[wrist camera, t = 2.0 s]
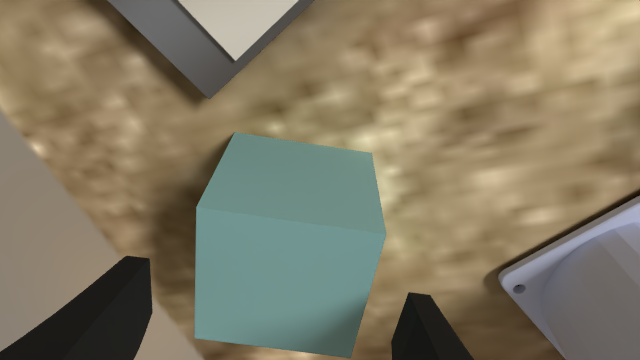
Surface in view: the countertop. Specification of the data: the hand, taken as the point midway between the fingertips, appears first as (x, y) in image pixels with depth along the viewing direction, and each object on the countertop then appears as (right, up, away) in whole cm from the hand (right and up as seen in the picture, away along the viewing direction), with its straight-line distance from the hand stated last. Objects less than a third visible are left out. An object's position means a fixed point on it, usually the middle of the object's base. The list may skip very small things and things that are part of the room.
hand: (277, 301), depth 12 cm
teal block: (0, +3, +5) cm, 5 cm away
